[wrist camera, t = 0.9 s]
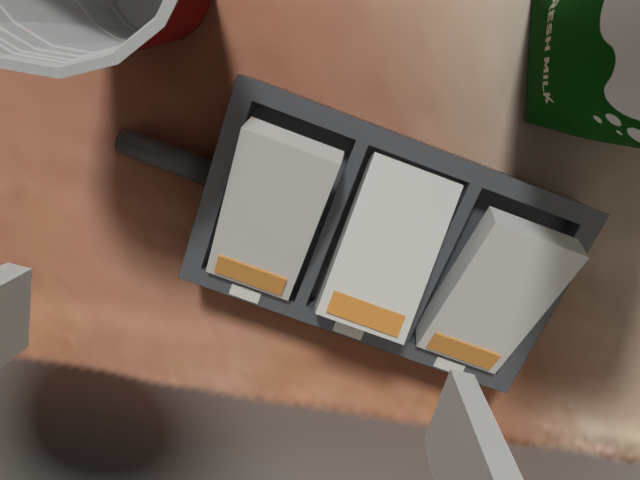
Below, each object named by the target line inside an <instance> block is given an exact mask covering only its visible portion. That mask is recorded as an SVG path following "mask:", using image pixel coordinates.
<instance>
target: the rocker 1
mask: <svg viewBox="0 0 640 480" xmlns="http://www.w3.org/2000/svg"><path fill="white" fill-rule="evenodd" d="M344 152H345V151H342V150H339V149H337V148H334V147H331V146H329V145H326V144H323V143H321V142H318V141H315V140H313V139H310V138H307V137H305V136H302V135H299V134H297V133H294V132H291V131H289V130H286V129H283V128H281V127H278V126H275V125H273V124H270V123H267V122H265V121H262V120H260V119H257V118H254V117H252V116H251V117H250V118H249V119H248V121H247V122H246V123H245V124H244V125H243V126H242V127H241V130H240V134H239V138H238V142H237V146H236V150H235V154H234V158H233V163H232V167H231V171H230V175H229V179H228V183H227V187H226V191H225V195H224V199H223V203H222V207H221V211H220V215H219V219H218V224H217V228H216V232H215V236H214V240H213V244H212V248H211V252H210V256H209V260H208V264H207V268H206V272H208V273H211V274H214V275H217V276H219V277H222V278H225V279H228V280H231V281H234V282H236V283H239V284H242V285H245V286H248V287H250V288H253V289H256V290H259V291H262V292H265V293H267V294H270V295H273V296H276V297H279V298H281V299H284V300H287V301H288V300H289V297H290V295H291V292H292V289H293V287H294V284H295V282H296V279H297V277H298V274H299V271H300V269H301V266H302V264H303V261H304V259H305V256H306V253H307V251H308V248H309V246H310V243H311V241H312V238H313V235H314V233H315V230H316V228H317V225H318V223H319V220H320V217H321V215H322V212H323V210H324V207H325V205H326V202H327V199H328V197H329V194H330V192H331V189H332V187H333V184H334V181H335V179H336V176H337V174H338V171H339V169H340V166H341V163H342V159H343V155H344Z"/></svg>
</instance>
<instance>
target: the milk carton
mask: <svg viewBox="0 0 640 480" xmlns="http://www.w3.org/2000/svg"><path fill="white" fill-rule="evenodd" d="M525 122H528V123H532V124H535V125H539V126H542V127H546V128H549V129H553V130H557V131H560V132H564V133H567V134H571V135H574V136H578V137H582V138H585V139H590V140H596V141H601V142H606V143H612V144H618V145H624V146H630V147H636V148H640V0H532V11H531V27H530V43H529V59H528V75H527V91H526V106H525Z"/></svg>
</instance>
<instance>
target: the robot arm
mask: <svg viewBox="0 0 640 480" xmlns="http://www.w3.org/2000/svg"><path fill="white" fill-rule="evenodd" d="M31 281H32V268H28V267H24V266H19V265H15V264H11V263H5V264H3V265H1V266H0V368H1V367H3V366H4V365H5V364H6V363H8V362H9V361H10V360H12V359H13V358H14V357H15V356H17V355H18V354H19V353H21V352H22V351H23V350H24V349H26V348H27V347H28V339H29V320H30V300H31ZM424 443H425V448H426V452H427V457H428V460H429V465H430V470H431V474H432V478H433V480H523V477H522V476H521V473H520V471H519V469H518V467H517V465H516V463H515V460H514V458H513V456H512V454H511V452H510V450H509V448H508V445H507V443H506V441H505V439H504V437H503V435H502V433H501V430H500V428H499V426H498V424H497V422H496V420H495V418H494V416H493V413H492V411H491V409H490V407H489V405H488V403H487V401H486V398H485V396H484V394H483V392H482V390H481V388H480V386H479V383H478V381H477V379H476V377H475V375H474V374H470V373H466V372H462V371H458V370H453V369H450V371H449V374H448V377H447V379H446V382H445V384H444V387H443V390H442V392H441V395H440V398H439V400H438V403H437V406H436V408H435V411H434V414H433V416H432V419H431V422H430V424H429V427H428V430H427V432H426V435H425V438H424Z"/></svg>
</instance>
